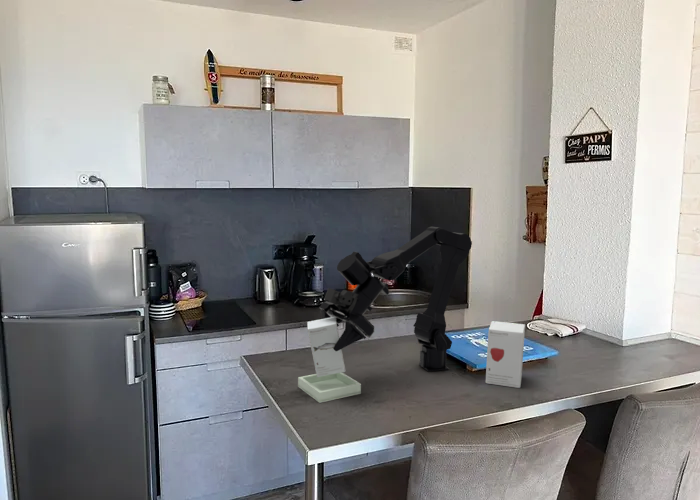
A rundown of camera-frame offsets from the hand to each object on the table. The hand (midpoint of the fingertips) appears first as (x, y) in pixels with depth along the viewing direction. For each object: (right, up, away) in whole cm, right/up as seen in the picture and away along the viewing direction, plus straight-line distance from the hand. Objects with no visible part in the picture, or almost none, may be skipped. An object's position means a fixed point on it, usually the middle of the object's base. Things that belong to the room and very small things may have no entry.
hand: (325, 345), depth 133 cm
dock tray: (+1, -12, +2) cm, 12 cm away
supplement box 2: (+47, -12, +11) cm, 50 cm away
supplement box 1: (+1, -7, +1) cm, 7 cm away
